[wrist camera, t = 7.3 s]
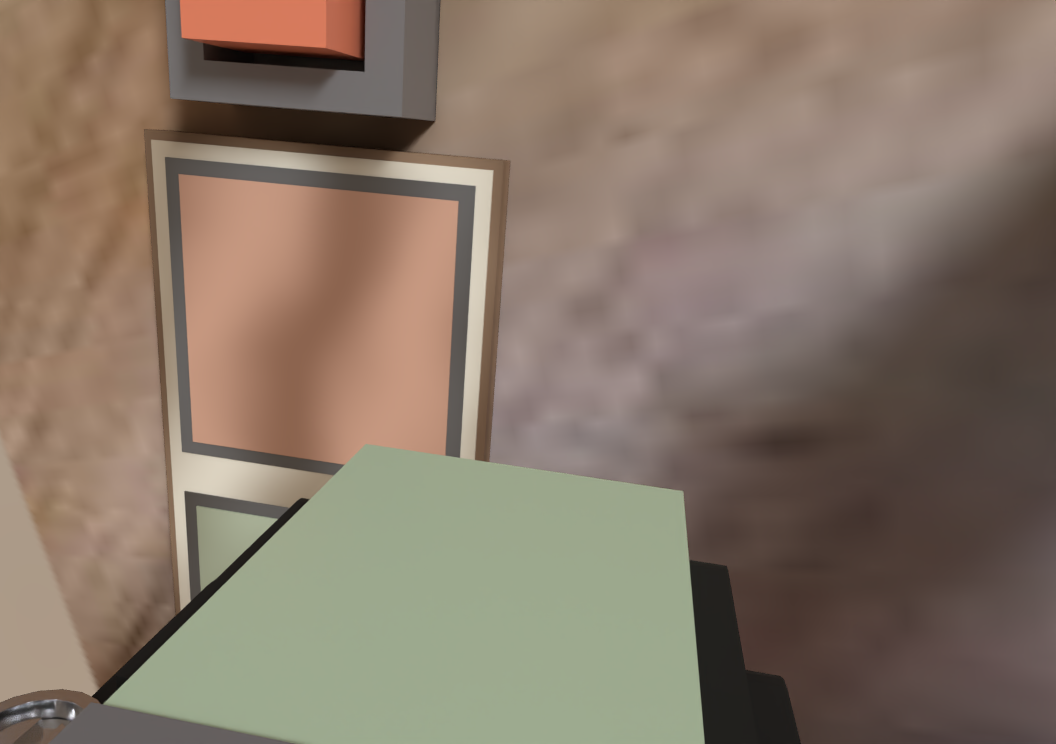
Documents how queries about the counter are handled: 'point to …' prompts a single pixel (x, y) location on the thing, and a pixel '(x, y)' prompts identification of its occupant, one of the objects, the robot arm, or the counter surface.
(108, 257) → the counter surface
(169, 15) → the button housing
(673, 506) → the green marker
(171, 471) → the picture board
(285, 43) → the button
